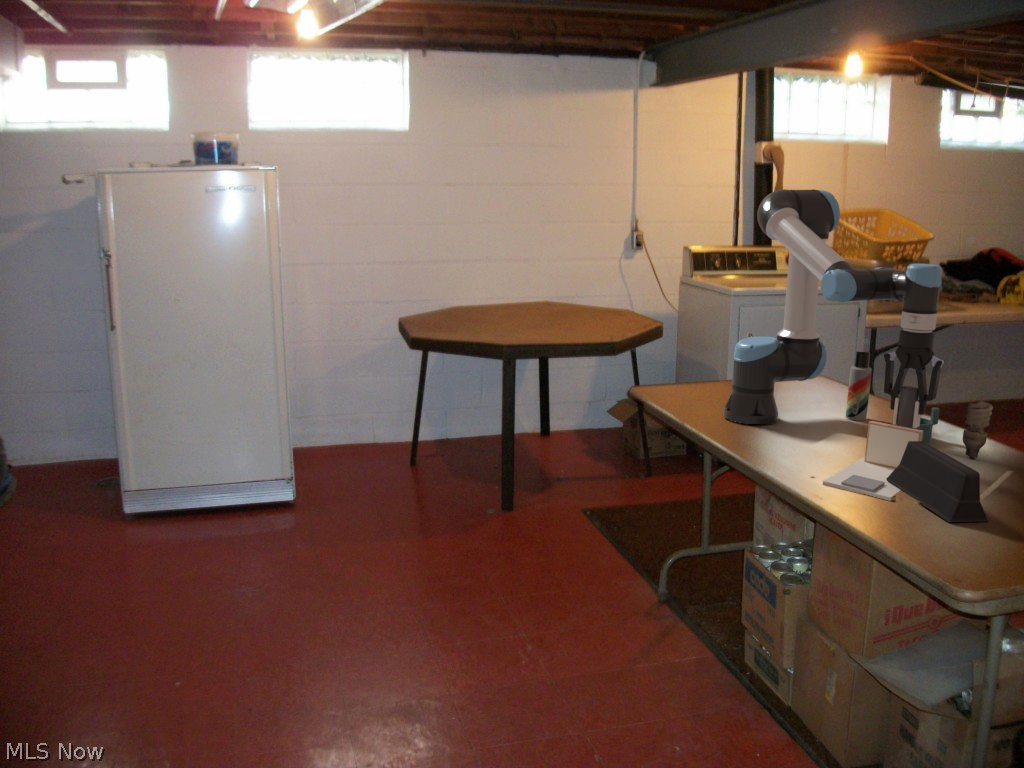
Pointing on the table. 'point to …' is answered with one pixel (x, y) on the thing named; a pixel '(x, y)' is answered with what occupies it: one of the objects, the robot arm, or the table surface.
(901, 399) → the tool handle
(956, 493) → the barrier
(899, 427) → the tile
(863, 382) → the lotion bottle
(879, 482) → the board
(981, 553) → the table surface
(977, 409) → the light bulb
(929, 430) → the bracket
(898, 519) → the table surface
